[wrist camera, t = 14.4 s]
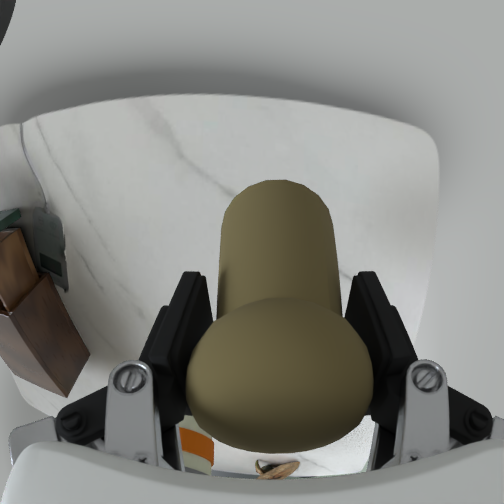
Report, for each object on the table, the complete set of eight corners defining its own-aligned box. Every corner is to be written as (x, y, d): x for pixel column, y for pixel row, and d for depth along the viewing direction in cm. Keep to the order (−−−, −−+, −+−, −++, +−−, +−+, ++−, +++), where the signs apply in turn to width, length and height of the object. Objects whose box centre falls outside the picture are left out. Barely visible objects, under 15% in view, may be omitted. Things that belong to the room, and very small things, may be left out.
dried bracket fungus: (303, 444, 64) (315, 465, 58) (267, 464, 66) (277, 484, 61) (263, 450, 53) (276, 477, 47) (224, 470, 55) (234, 494, 49)
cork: (257, 293, 17) (242, 474, 8) (199, 214, 15) (108, 401, 5) (349, 252, 15) (410, 438, 6) (301, 158, 13) (375, 331, 4)
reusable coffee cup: (173, 426, 50) (158, 485, 37) (146, 397, 44) (123, 466, 31) (229, 430, 48) (220, 496, 35) (210, 401, 42) (194, 481, 29)
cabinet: (-1, 268, 32) (-34, 301, 24) (49, 272, 31) (9, 317, 23) (37, 340, 40) (14, 374, 32) (90, 354, 39) (67, 398, 31)
